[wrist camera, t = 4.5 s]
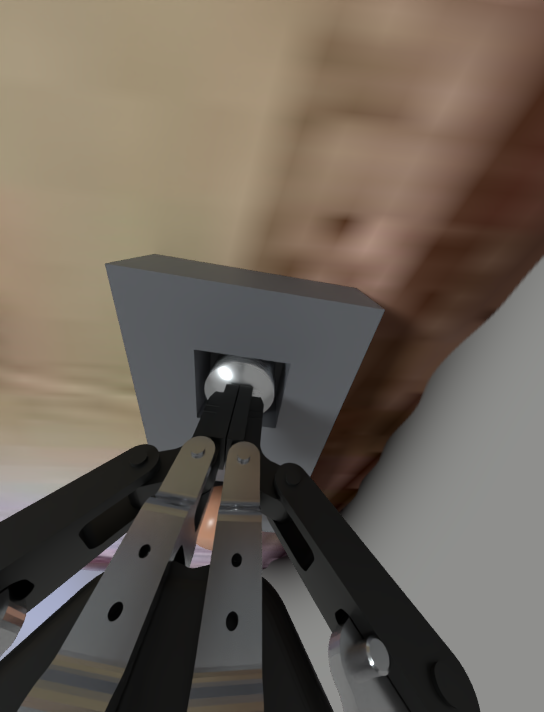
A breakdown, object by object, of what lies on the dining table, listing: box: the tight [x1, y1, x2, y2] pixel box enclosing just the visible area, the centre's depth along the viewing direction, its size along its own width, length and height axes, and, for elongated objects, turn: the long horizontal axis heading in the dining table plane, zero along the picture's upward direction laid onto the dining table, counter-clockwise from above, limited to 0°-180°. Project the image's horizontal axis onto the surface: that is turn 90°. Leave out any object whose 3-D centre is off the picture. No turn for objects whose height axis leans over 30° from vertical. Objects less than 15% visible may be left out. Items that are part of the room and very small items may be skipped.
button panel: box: [105, 254, 385, 532], centre depth 17 cm, size 24×12×4 cm, turn 171°
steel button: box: [204, 353, 275, 413], centre depth 13 cm, size 4×4×3 cm
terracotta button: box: [196, 486, 223, 550], centre depth 17 cm, size 4×4×3 cm
